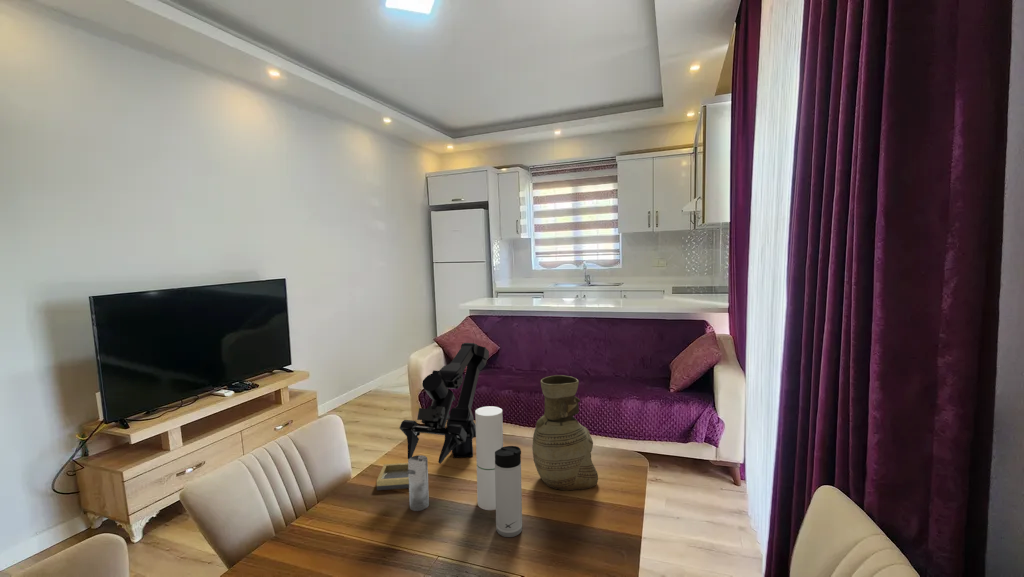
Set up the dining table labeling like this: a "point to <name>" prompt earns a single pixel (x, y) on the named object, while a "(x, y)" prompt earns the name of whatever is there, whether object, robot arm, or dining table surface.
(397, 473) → the plate
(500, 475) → the travel mug
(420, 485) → the spout can
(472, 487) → the dining table surface
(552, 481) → the ceramic vessel
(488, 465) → the cylindrical container
